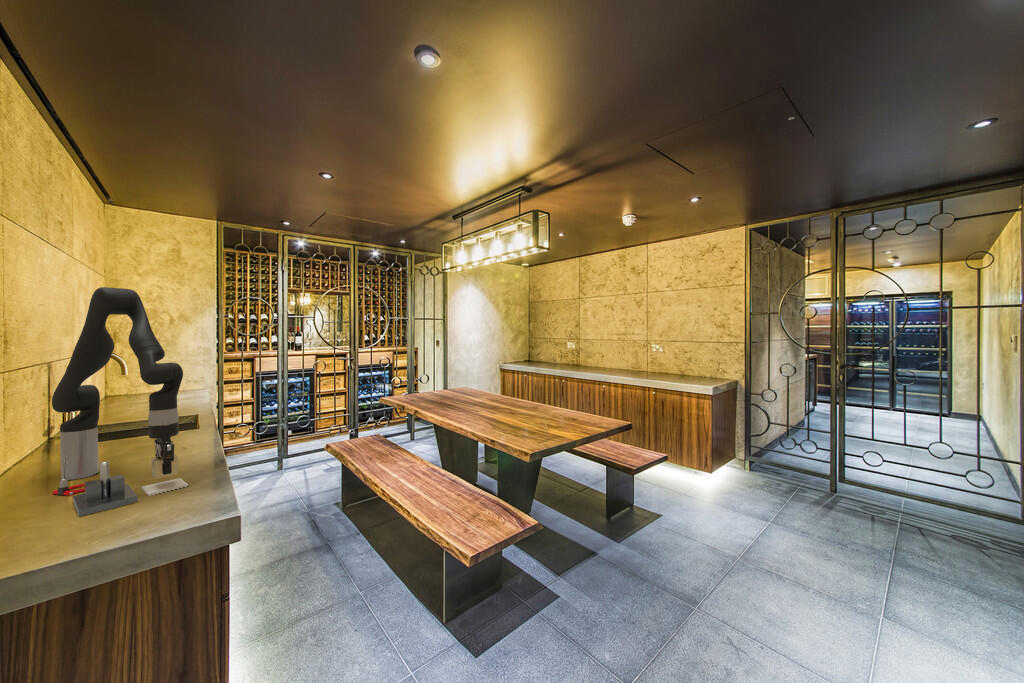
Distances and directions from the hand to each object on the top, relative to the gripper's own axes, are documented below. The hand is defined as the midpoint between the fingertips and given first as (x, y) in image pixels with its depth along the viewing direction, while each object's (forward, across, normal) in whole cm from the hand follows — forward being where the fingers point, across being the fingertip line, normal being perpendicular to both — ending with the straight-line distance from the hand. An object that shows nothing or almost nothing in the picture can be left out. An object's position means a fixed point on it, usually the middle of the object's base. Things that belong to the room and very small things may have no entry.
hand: (164, 471), depth 130 cm
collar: (+1, 0, 0) cm, 1 cm away
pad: (+5, 0, 0) cm, 5 cm away
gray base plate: (+5, 0, -14) cm, 15 cm away
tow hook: (+6, -21, -18) cm, 28 cm away
